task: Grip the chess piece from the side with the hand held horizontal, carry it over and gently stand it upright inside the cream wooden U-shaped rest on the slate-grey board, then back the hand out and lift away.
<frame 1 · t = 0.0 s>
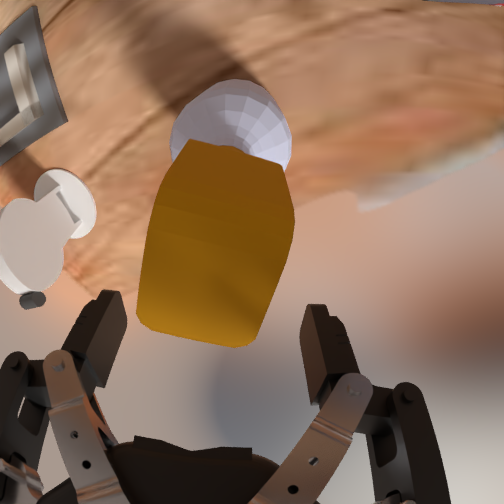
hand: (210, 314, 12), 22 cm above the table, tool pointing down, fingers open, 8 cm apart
panda figurine: (63, 202, 33), on the table
soap bottle: (235, 119, 27), on the table
u rest: (6, 94, 21), on the table
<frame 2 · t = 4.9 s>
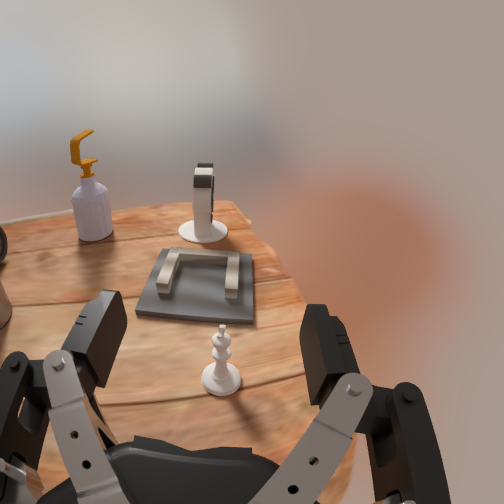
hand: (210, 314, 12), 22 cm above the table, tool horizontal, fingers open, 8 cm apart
panda figurine: (202, 232, 65), on the table
soap bottle: (96, 233, 60), on the table
chess piece: (221, 380, 32), on the table
u rest: (200, 283, 48), on the table
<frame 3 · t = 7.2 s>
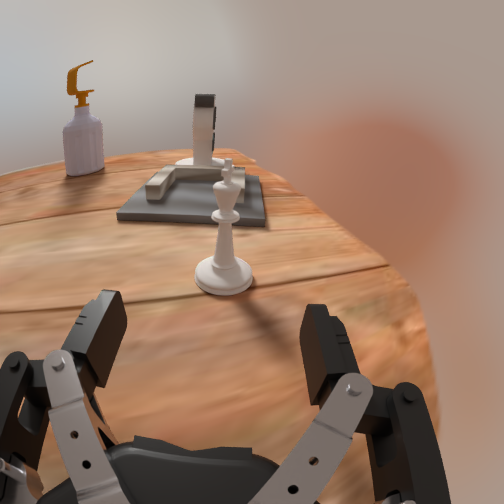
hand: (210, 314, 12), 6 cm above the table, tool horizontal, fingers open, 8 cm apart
panda figurine: (202, 165, 56), on the table
soap bottle: (85, 171, 52), on the table
chess piece: (223, 279, 24), on the table
u rest: (198, 196, 40), on the table
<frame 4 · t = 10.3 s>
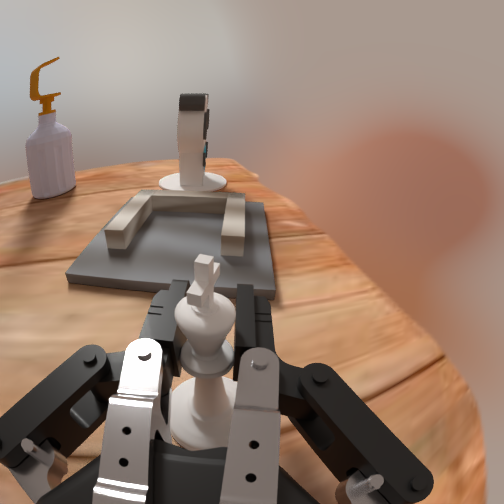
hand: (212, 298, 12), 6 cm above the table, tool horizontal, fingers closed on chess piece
panda figurine: (192, 184, 45), on the table
soap bottle: (54, 191, 41), on the table
chess piece: (211, 417, 13), on the table, touching gripper
u rest: (181, 238, 29), on the table
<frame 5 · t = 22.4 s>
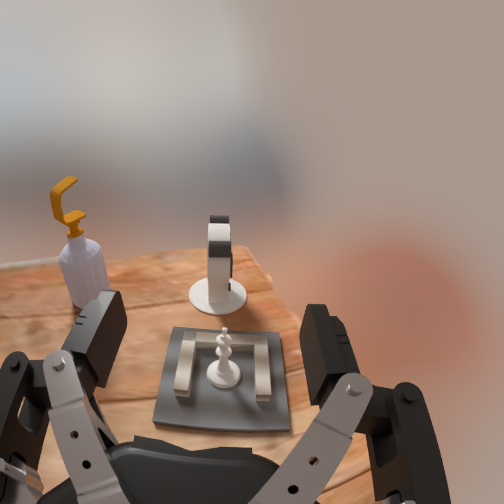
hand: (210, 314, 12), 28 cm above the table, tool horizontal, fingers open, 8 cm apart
panda figurine: (217, 297, 55), on the table
soap bottle: (92, 296, 51), on the table
chess piece: (223, 375, 38), point 1 cm above the table, touching u rest
u rest: (223, 377, 39), on the table
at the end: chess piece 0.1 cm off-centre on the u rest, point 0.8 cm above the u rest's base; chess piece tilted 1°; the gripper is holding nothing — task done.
